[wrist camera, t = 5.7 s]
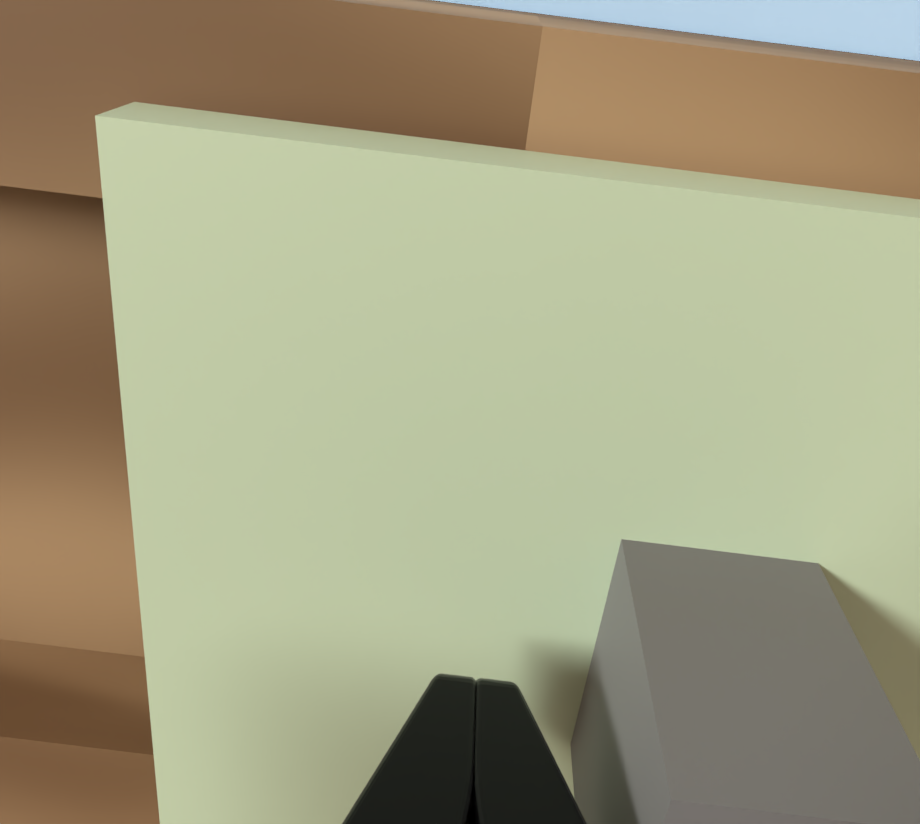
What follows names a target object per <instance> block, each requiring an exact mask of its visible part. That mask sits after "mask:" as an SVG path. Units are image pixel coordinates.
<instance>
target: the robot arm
mask: <svg viewBox="0 0 920 824" xmlns="http://www.w3.org/2000/svg"><path fill="white" fill-rule="evenodd" d="M342 824H587V823H586V821H585V819H584V817H583V815H582V813H581V811H580V809H579V807H578V805H577V803H576V801H575V799H574V797H573V795H572V793H571V791H570V789H569V787H568V785H567V783H566V781H565V779H564V777H563V775H562V773H561V771H560V769H559V767H558V765H557V763H556V761H555V759H554V757H553V755H552V752H551V750H550V748H549V746H548V744H547V742H546V740H545V738H544V736H543V734H542V732H541V730H540V728H539V726H538V724H537V722H536V720H535V718H534V716H533V714H532V712H531V710H530V708H529V706H528V704H527V702H526V700H525V698H524V696H523V694H522V692H521V690H520V689H519V687H518V686H517V685H516V684H515V683H513V682H510V681H502V680H493V679H485V678H479V679H477V680H475V679H474V678H473V677H468V676H459V675H451V674H442V673H441V674H437V675H436V676H435V677H434V678H433V679H432V680H431V681H430V683H429V685H428V686H427V688H426V689H425V691H424V693H423V694H422V696H421V697H420V699H419V701H418V702H417V704H416V705H415V707H414V709H413V710H412V712H411V714H410V715H409V717H408V718H407V720H406V722H405V723H404V725H403V726H402V728H401V730H400V731H399V733H398V734H397V736H396V738H395V739H394V741H393V742H392V744H391V746H390V747H389V749H388V750H387V752H386V754H385V755H384V757H383V758H382V760H381V762H380V763H379V765H378V766H377V768H376V770H375V771H374V773H373V774H372V776H371V778H370V779H369V781H368V782H367V784H366V786H365V787H364V789H363V790H362V792H361V794H360V795H359V797H358V798H357V800H356V802H355V803H354V805H353V806H352V808H351V810H350V811H349V813H348V814H347V816H346V818H345V819H344V821H343V823H342Z"/></svg>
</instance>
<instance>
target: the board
mask: <svg viewBox="0 0 920 824" xmlns="http://www.w3.org/2000/svg"><path fill="white" fill-rule="evenodd" d="M132 102H140V103H148V104H156V105H164V106H172V107H180V108H188V109H196V110H204V111H212V112H220V113H228V114H236V115H244V116H253V117H261V118H269V119H277V120H285V121H293V122H301V123H309V124H317V125H325V126H333V127H341V128H349V129H357V130H365V131H373V132H381V133H389V134H397V135H405V136H413V137H421V138H430V139H438V140H446V141H454V142H462V143H470V144H478V145H486V146H494V147H502V148H510V149H518V150H526V151H534V152H542V153H550V154H558V155H566V156H574V157H582V158H590V159H599V160H607V161H615V162H623V163H631V164H639V165H647V166H655V167H663V168H671V169H679V170H687V171H695V172H703V173H711V174H719V175H727V176H735V177H743V178H751V179H759V180H768V181H776V182H784V183H792V184H800V185H808V186H816V187H824V188H832V189H840V190H848V191H856V192H864V193H872V194H880V195H888V196H896V197H904V198H912V199H920V61H913V60H905V59H897V58H889V57H881V56H873V55H865V54H857V53H849V52H841V51H833V50H825V49H817V48H809V47H801V46H793V45H785V44H777V43H769V42H761V41H753V40H745V39H737V38H729V37H721V36H713V35H705V34H697V33H689V32H681V31H673V30H665V29H657V28H649V27H641V26H633V25H625V24H616V23H608V22H600V21H592V20H584V19H576V18H568V17H560V16H552V15H544V14H536V13H528V12H520V11H512V10H504V9H496V8H488V7H480V6H472V5H464V4H456V3H448V2H440V1H432V0H0V824H160V820H159V809H158V798H157V787H156V776H155V765H154V754H153V743H152V732H151V722H150V711H149V700H148V689H147V678H146V667H145V656H144V645H143V634H142V623H141V612H140V601H139V591H138V580H137V569H136V558H135V547H134V536H133V525H132V514H131V503H130V492H129V481H128V471H127V460H126V449H125V438H124V427H123V416H122V405H121V394H120V383H119V372H118V361H117V351H116V340H115V329H114V318H113V307H112V296H111V285H110V274H109V263H108V252H107V241H106V231H105V220H104V209H103V198H102V187H101V176H100V165H99V154H98V143H97V132H96V121H95V115H98V114H101V113H104V112H107V111H110V110H113V109H115V108H118V107H121V106H124V105H127V104H130V103H132Z"/></svg>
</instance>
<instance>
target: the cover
mask: <svg viewBox="0 0 920 824" xmlns="http://www.w3.org/2000/svg"><path fill="white" fill-rule="evenodd" d="M95 121H96V132H97V143H98V154H99V165H100V176H101V187H102V198H103V209H104V220H105V231H106V241H107V252H108V263H109V274H110V285H111V296H112V307H113V318H114V329H115V340H116V351H117V361H118V372H119V383H120V394H121V405H122V416H123V427H124V438H125V449H126V460H127V471H128V481H129V492H130V503H131V514H132V525H133V536H134V547H135V558H136V569H137V580H138V591H139V601H140V612H141V623H142V634H143V645H144V656H145V667H146V678H147V689H148V700H149V711H150V722H151V732H152V743H153V754H154V765H155V776H156V787H157V798H158V809H159V820H160V824H342V823H343V821H344V819H345V818H346V816H347V814H348V813H349V811H350V810H351V808H352V806H353V805H354V803H355V802H356V800H357V798H358V797H359V795H360V794H361V792H362V790H363V789H364V787H365V786H366V784H367V782H368V781H369V779H370V778H371V776H372V774H373V773H374V771H375V770H376V768H377V766H378V765H379V763H380V762H381V760H382V758H383V757H384V755H385V754H386V752H387V750H388V749H389V747H390V746H391V744H392V742H393V741H394V739H395V738H396V736H397V734H398V733H399V731H400V730H401V728H402V726H403V725H404V723H405V722H406V720H407V718H408V717H409V715H410V714H411V712H412V710H413V709H414V707H415V705H416V704H417V702H418V701H419V699H420V697H421V696H422V694H423V693H424V691H425V689H426V688H427V686H428V685H429V683H430V681H431V680H432V679H433V678H434V677H435V676H436V675H437V674H441V673H442V674H451V675H459V676H468V677H473V678H474V679H475V680H477V679H479V678H485V679H493V680H502V681H510V682H513V683H515V684H516V685H517V686H518V687H519V689H520V690H521V692H522V694H523V696H524V698H525V700H526V702H527V704H528V706H529V708H530V710H531V712H532V714H533V716H534V718H535V720H536V722H537V724H538V726H539V728H540V730H541V732H542V734H543V736H544V738H545V740H546V742H547V744H548V746H549V748H550V750H551V752H552V755H553V757H554V759H555V761H556V763H557V765H558V767H559V769H560V771H561V773H562V775H563V777H564V779H565V781H566V783H567V785H568V787H569V789H570V791H571V793H572V795H573V797H574V799H575V801H576V803H577V805H578V807H579V809H580V811H581V813H582V815H583V817H584V819H585V821H586V823H587V824H920V199H912V198H904V197H896V196H888V195H880V194H872V193H864V192H856V191H848V190H840V189H832V188H824V187H816V186H808V185H800V184H792V183H784V182H776V181H768V180H759V179H751V178H743V177H735V176H727V175H719V174H711V173H703V172H695V171H687V170H679V169H671V168H663V167H655V166H647V165H639V164H631V163H623V162H615V161H607V160H599V159H590V158H582V157H574V156H566V155H558V154H550V153H542V152H534V151H526V150H518V149H510V148H502V147H494V146H486V145H478V144H470V143H462V142H454V141H446V140H438V139H430V138H421V137H413V136H405V135H397V134H389V133H381V132H373V131H365V130H357V129H349V128H341V127H333V126H325V125H317V124H309V123H301V122H293V121H285V120H277V119H269V118H261V117H253V116H244V115H236V114H228V113H220V112H212V111H204V110H196V109H188V108H180V107H172V106H164V105H156V104H148V103H140V102H132V103H130V104H127V105H124V106H121V107H118V108H115V109H113V110H110V111H107V112H104V113H101V114H98V115H95Z"/></svg>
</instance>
